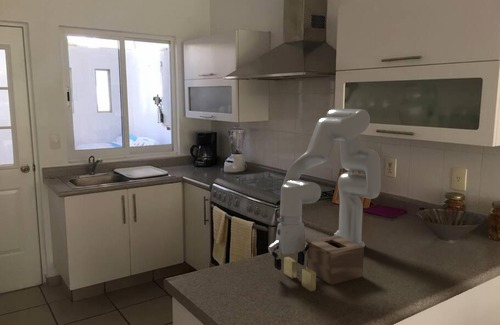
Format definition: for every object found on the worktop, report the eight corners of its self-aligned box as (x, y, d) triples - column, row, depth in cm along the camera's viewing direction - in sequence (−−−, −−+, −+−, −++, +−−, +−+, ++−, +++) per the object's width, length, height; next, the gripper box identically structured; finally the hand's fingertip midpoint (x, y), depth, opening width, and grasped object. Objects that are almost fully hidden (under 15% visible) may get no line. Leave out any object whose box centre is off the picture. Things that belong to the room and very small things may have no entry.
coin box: (306, 270, 153) (307, 241, 151) (336, 263, 159) (337, 235, 158) (331, 284, 141) (332, 253, 139) (362, 276, 147) (364, 246, 146)
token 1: (283, 273, 150) (284, 257, 149) (288, 272, 151) (288, 256, 150) (291, 278, 146) (291, 262, 145) (296, 277, 147) (296, 261, 146)
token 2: (301, 285, 140) (302, 268, 139) (306, 284, 141) (306, 267, 140) (310, 291, 136) (311, 273, 135) (315, 290, 137) (316, 272, 136)
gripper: (275, 225, 138) (274, 274, 140) (317, 219, 146) (315, 265, 148) (263, 219, 144) (262, 267, 147) (304, 214, 152) (303, 259, 155)
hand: (289, 266), depth 147 cm, fingers open, 9 cm apart
